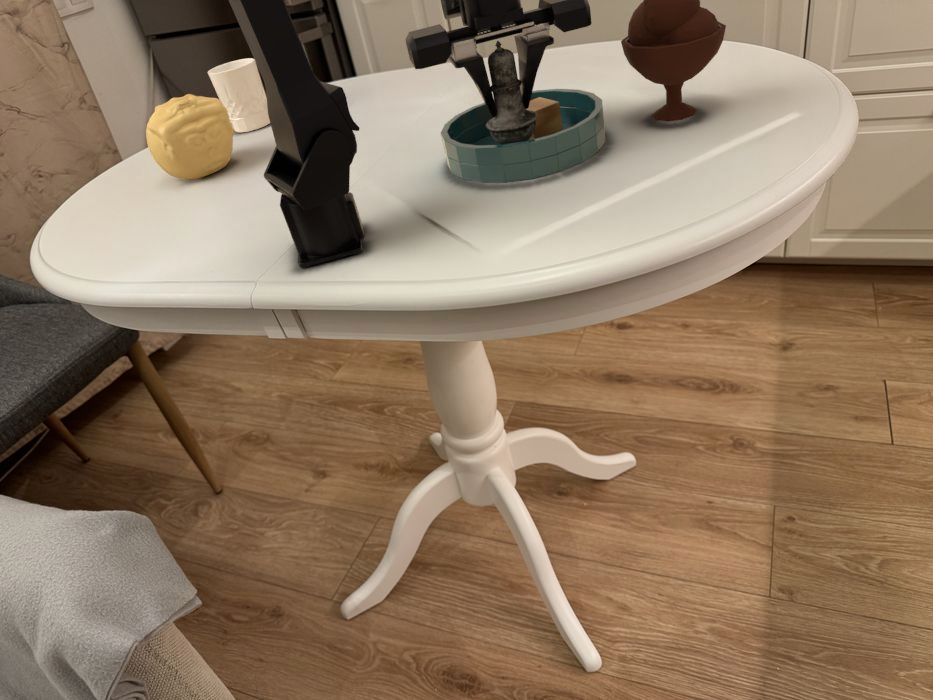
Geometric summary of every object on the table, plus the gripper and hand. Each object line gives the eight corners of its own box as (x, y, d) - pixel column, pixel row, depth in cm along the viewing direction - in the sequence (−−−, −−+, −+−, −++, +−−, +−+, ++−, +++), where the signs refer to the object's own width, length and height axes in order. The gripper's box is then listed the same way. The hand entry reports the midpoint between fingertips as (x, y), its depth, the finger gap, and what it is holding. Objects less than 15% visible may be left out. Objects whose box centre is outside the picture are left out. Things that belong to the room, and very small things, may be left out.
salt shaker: (484, 152, 81) (462, 45, 74) (529, 136, 82) (511, 29, 75) (503, 165, 76) (482, 52, 70) (551, 148, 77) (534, 35, 71)
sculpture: (188, 192, 96) (152, 115, 90) (152, 181, 104) (118, 109, 98) (256, 160, 102) (228, 85, 96) (218, 151, 110) (189, 82, 104)
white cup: (223, 136, 117) (198, 76, 111) (245, 120, 123) (222, 62, 117) (263, 131, 114) (239, 69, 109) (283, 115, 120) (262, 55, 115)
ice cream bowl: (744, 113, 79) (749, -34, 70) (660, 143, 76) (654, -5, 68) (687, 96, 87) (684, -38, 78) (609, 122, 85) (599, -12, 76)
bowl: (463, 202, 74) (455, 162, 71) (439, 149, 89) (431, 115, 87) (629, 158, 75) (627, 117, 72) (577, 113, 90) (573, 78, 87)
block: (536, 146, 82) (531, 112, 79) (517, 140, 85) (512, 107, 82) (563, 135, 83) (559, 101, 81) (544, 129, 86) (539, 96, 84)
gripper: (552, -72, 75) (568, 75, 84) (385, -31, 74) (419, 114, 83) (585, -68, 66) (599, 97, 74) (395, -20, 65) (432, 141, 74)
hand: (509, 112), depth 77 cm, fingers closed on salt shaker, 3 cm apart
